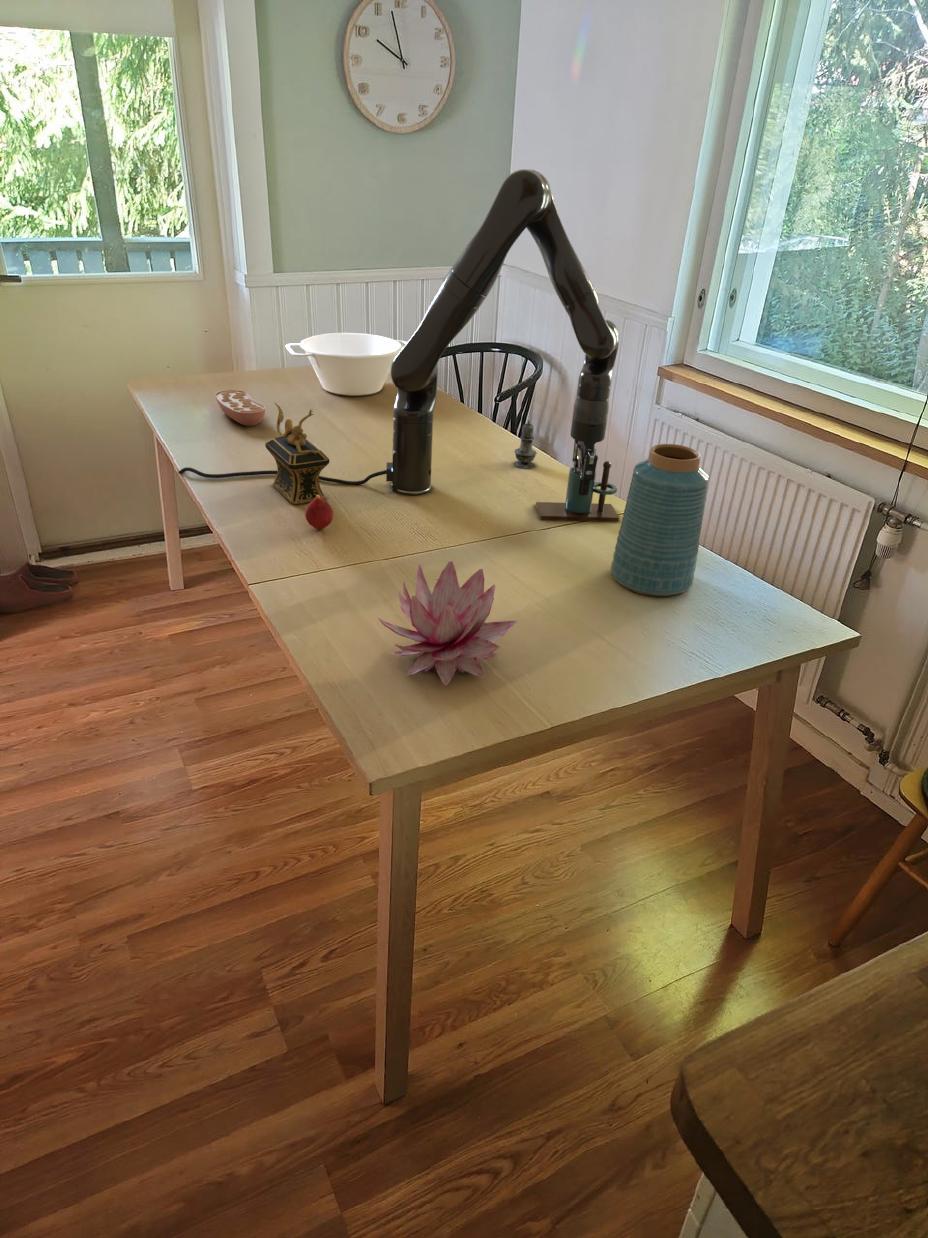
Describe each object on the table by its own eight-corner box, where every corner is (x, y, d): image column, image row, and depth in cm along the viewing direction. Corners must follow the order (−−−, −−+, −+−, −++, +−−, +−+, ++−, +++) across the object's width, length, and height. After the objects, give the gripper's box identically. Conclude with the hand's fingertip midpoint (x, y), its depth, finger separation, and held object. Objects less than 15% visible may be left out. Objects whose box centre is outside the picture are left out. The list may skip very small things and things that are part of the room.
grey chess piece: (533, 470, 217) (538, 424, 211) (511, 467, 218) (515, 422, 212) (536, 462, 222) (541, 418, 216) (514, 459, 223) (519, 415, 217)
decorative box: (332, 501, 192) (330, 417, 182) (292, 508, 187) (288, 422, 177) (299, 472, 206) (296, 392, 196) (261, 478, 202) (256, 396, 192)
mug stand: (540, 519, 190) (546, 465, 184) (535, 505, 197) (541, 453, 190) (618, 521, 192) (627, 468, 185) (610, 507, 199) (618, 455, 192)
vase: (675, 608, 158) (704, 474, 145) (596, 582, 165) (617, 452, 152) (702, 576, 170) (732, 450, 157) (628, 553, 177) (650, 431, 164)
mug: (567, 512, 191) (572, 475, 186) (562, 502, 196) (567, 465, 191) (615, 514, 192) (621, 476, 187) (609, 503, 197) (615, 467, 192)
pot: (301, 406, 252) (299, 358, 245) (280, 378, 277) (278, 333, 270) (427, 399, 266) (428, 353, 258) (396, 372, 291) (397, 330, 284)
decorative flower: (405, 618, 149) (407, 541, 142) (522, 642, 145) (530, 564, 137) (358, 682, 132) (358, 599, 124) (489, 712, 127) (497, 628, 119)
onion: (338, 527, 180) (337, 492, 176) (325, 537, 176) (324, 502, 172) (313, 522, 182) (312, 487, 178) (301, 532, 177) (299, 497, 173)
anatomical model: (271, 427, 234) (270, 410, 231) (236, 432, 229) (234, 414, 226) (242, 405, 250) (241, 388, 247) (209, 408, 245) (208, 391, 243)
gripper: (567, 406, 188) (558, 477, 197) (579, 426, 176) (569, 501, 185) (599, 407, 189) (589, 477, 198) (614, 428, 177) (603, 502, 185)
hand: (580, 488), depth 191 cm, fingers closed on mug, 6 cm apart
